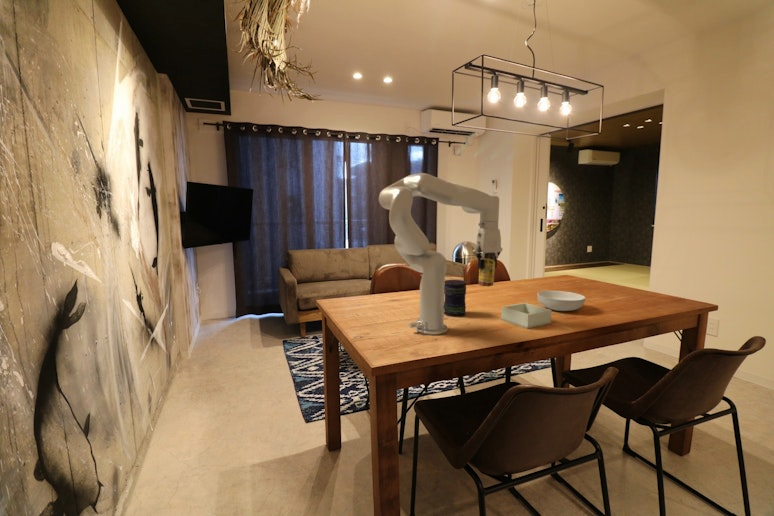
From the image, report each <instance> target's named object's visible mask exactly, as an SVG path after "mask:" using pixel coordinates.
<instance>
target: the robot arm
mask: <svg viewBox="0 0 774 516" xmlns="http://www.w3.org/2000/svg"><path fill="white" fill-rule="evenodd" d="M414 197H421V198H426V199H428V200H431V201H434V202H437V203H439V204H441V205H442V204H443V205H446V206H452V207H455V206H456V207H461V209H462V210H463V211H464V212H465V213H468V214H475V215H476V214H479V223H478V227H479V228H478V231H477V234H476V243H475V247H474V248H473V249H472V252H473V254H474V256H475V257H476V259H477V268H478V269H479V270H480V269H484V260H483V258H484V256H485V253H495V255H496V257H495V269H497V267H498V265H497V264H498V259H499V256H500V255H501V253H502V252H503V248H502V239H501V237H502V235H501V231H500V228H499V218H500V216H499V215H500V214H499V213H500V197H499V196H498V195H490V194H488V193H486V192H484V191H482V190H479V189H475V188H472V187H468V186H463V185H460V184H457V183H456V184H455V183H452V182H450V181H447V180H445V179H441V178H440V177H436V176H434V175H432V174H429V173H424V172H420V173H414V174H413V173H412V174H409V175H407V176H405V177H404V178H401V179H399V180H398V181H396V182H394V183H392V184H390V185H388V186H387V187H385V188H383V189H382V190H381V191H380V193H379V196H378V203H379V205H380V206H381V207H382V208H383V209H385V210H389V214H388V219H389V221H388V222H389V225H390V228H391V230H392V231H393V233H394V234H395V237H394V240H393V241H394V247H395V249H396V251H397V252H398V253H399V255H400V256H401V257H402V258H403V260H404V261H405V262H406V264H407V265H408V266H409V267H410V268H411V269H412V270H413V271H416V272H418V273H421V274H422V276H421V279H420V283H419V318H417V320H416V321H415V322H409V324H408V326H409V328H410V329H411V328H413V329H414V328H415V330H416V331H417V332H418V333H420V334H424V335H432V336H433V335H441V334H442V335H443V334H445V333H447V332H448V326H447V325H446V324H444V321H445V319H444V318H445V315H444V302H445V294H444V285H445V284H444V282H445V281H446V279H445V278H446V272H447V267H448V262H447V259H446V257H445V255H443V254H442V253H441V252H438V251H435V250H429V249H430V241H429V239H428V237H427V236H426V235H425V234H424V232H423V231H422V230H421V228H420V227H419V226H418V224H417V223H416V222H415V220H414V218H413V217H412V206H413V201H414ZM481 254H482V255H481Z"/></svg>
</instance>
